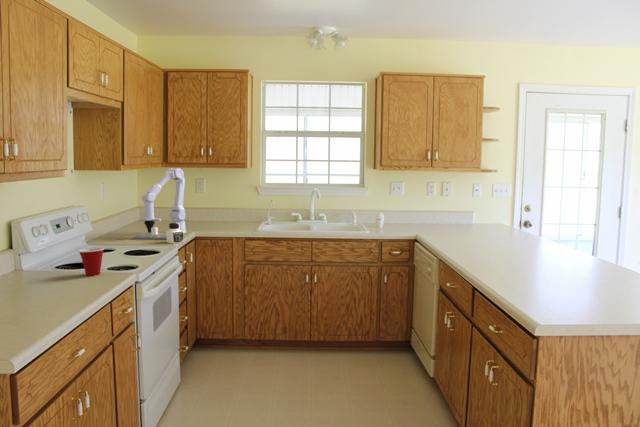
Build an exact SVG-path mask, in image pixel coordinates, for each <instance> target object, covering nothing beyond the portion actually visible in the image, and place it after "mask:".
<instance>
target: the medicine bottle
mask: <svg viewBox="0 0 640 427" xmlns="http://www.w3.org/2000/svg"><path fill="white" fill-rule="evenodd" d="M168 226H169V227H168V228H169V230H166V231H165V233H166V238H167V240H166V243H169V244H179V243H180V244H181V243H184V234H183V231H181V230H179V229H180V226H179V223H173V222H171V223H169V225H168Z"/></svg>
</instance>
